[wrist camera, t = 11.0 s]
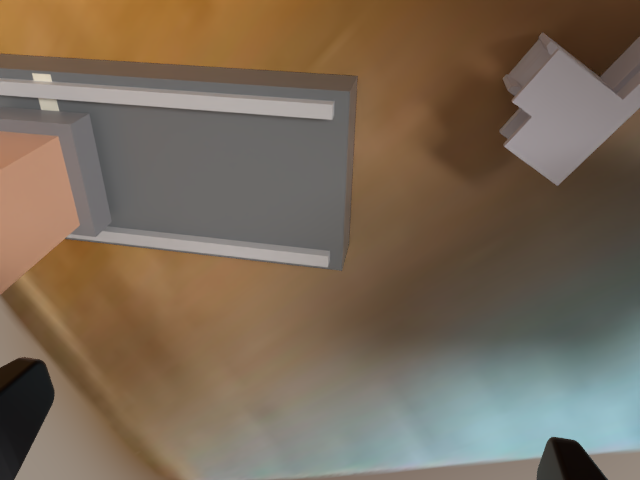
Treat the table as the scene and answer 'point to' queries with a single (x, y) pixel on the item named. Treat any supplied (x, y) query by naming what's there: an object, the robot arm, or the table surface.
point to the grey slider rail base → (209, 153)
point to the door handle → (567, 106)
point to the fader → (46, 186)
